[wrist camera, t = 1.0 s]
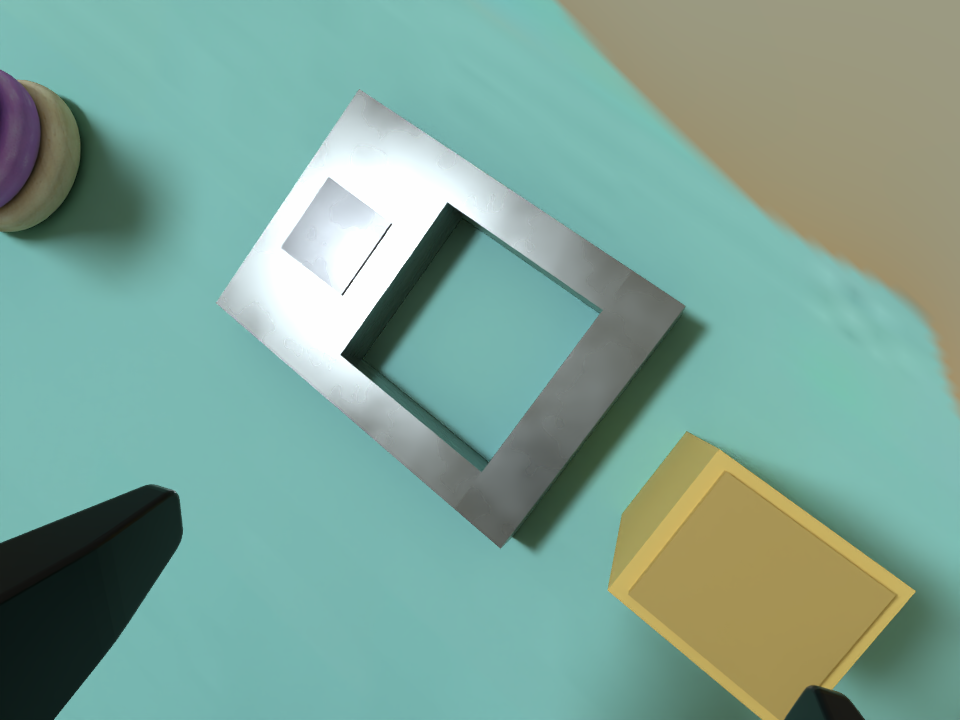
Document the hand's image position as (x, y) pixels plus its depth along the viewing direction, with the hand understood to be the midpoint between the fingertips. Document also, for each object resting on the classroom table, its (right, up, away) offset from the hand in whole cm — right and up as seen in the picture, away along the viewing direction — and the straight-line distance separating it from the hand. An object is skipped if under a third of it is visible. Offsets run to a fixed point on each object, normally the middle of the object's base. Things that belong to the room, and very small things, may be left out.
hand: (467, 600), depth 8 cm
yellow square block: (+9, -2, +14) cm, 17 cm away
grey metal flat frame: (-1, +5, +17) cm, 18 cm away
